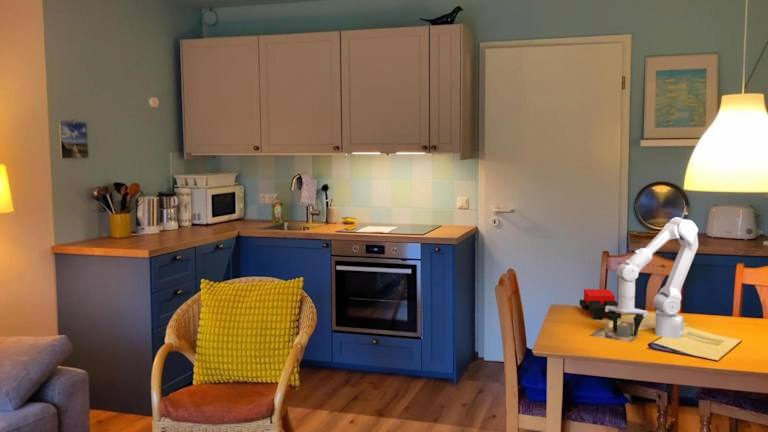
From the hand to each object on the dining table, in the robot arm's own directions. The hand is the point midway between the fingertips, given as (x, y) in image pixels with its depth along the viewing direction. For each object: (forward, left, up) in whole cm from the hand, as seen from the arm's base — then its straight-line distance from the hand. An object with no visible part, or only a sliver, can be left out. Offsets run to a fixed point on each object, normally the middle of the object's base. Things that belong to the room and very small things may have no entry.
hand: (625, 333), depth 259 cm
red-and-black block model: (+18, -29, -2) cm, 34 cm away
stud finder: (0, 0, -1) cm, 1 cm away
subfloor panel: (+3, +2, -2) cm, 4 cm away
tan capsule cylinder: (+4, +6, -1) cm, 8 cm away
